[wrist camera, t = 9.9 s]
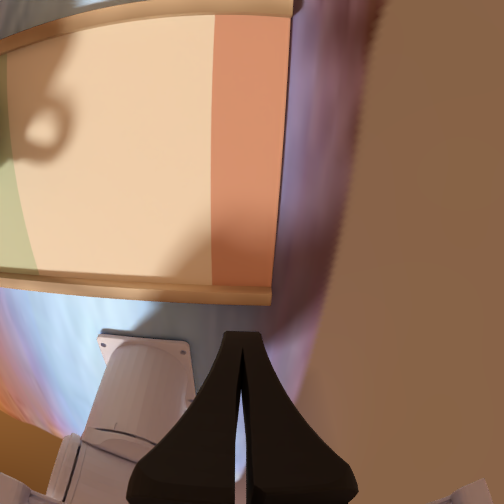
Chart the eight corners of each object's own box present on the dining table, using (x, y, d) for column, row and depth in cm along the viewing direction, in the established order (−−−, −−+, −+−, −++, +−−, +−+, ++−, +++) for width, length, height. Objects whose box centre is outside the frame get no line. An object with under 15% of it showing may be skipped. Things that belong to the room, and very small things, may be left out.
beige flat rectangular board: (269, 296, 23) (270, 305, 22) (-55, 272, 22) (-60, 278, 21) (290, 3, 14) (293, -2, 13) (-91, 92, 12) (-98, 94, 11)
